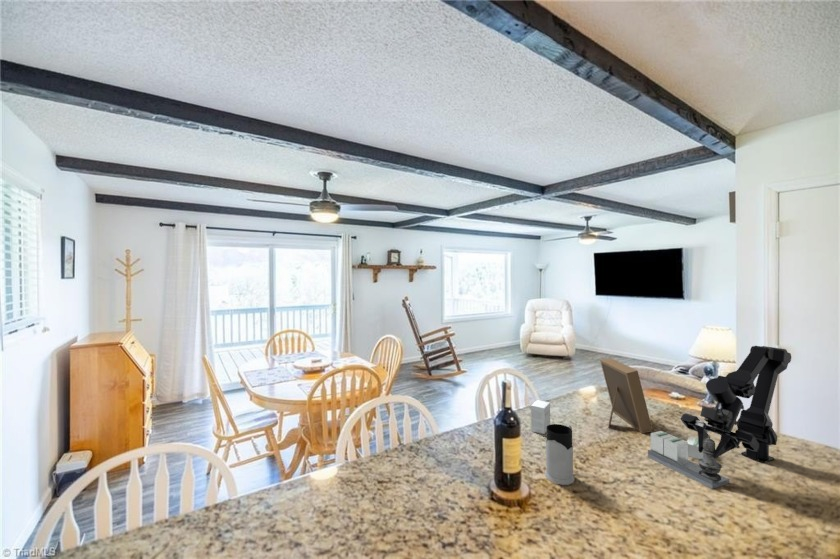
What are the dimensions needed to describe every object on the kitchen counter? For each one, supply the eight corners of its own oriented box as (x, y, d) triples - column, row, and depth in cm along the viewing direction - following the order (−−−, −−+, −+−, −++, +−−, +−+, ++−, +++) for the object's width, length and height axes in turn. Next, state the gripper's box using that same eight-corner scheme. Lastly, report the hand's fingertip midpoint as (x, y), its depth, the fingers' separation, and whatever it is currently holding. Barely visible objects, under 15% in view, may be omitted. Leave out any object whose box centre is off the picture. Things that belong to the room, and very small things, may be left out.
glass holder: (539, 477, 114) (539, 429, 114) (558, 459, 124) (558, 416, 124) (568, 488, 108) (567, 437, 108) (585, 469, 118) (584, 423, 118)
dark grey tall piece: (724, 482, 108) (723, 441, 107) (699, 477, 110) (698, 437, 110) (719, 472, 113) (719, 434, 113) (696, 468, 116) (695, 430, 116)
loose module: (689, 449, 131) (689, 435, 131) (706, 453, 128) (706, 440, 127) (685, 456, 126) (685, 442, 126) (703, 461, 123) (703, 447, 122)
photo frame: (622, 412, 165) (622, 357, 165) (652, 433, 144) (652, 370, 143) (589, 412, 165) (588, 358, 165) (614, 434, 144) (613, 371, 143)
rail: (664, 452, 128) (664, 428, 128) (729, 482, 110) (729, 454, 109) (647, 457, 125) (647, 432, 125) (712, 488, 107) (712, 460, 107)
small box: (537, 424, 153) (536, 399, 153) (550, 427, 150) (550, 402, 150) (530, 431, 147) (530, 405, 147) (544, 434, 144) (544, 408, 143)
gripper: (683, 388, 121) (663, 428, 117) (754, 406, 105) (734, 454, 100) (697, 407, 125) (678, 447, 120) (767, 428, 108) (748, 475, 104)
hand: (706, 454), depth 111 cm, fingers closed on dark grey tall piece, 3 cm apart
